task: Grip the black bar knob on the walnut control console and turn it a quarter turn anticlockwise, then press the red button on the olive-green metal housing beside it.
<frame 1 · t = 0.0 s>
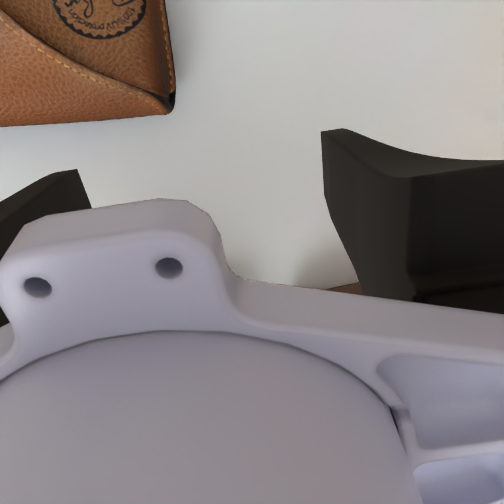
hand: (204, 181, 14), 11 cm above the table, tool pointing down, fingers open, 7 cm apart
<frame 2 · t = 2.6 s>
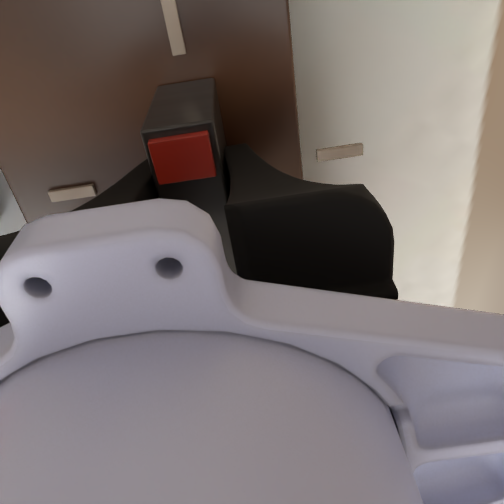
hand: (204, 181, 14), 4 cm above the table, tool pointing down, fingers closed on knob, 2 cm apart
console: (165, 142, 17), on the table
knob: (203, 201, 13), point 5 cm above the table, hinge at 0.0°, touching gripper
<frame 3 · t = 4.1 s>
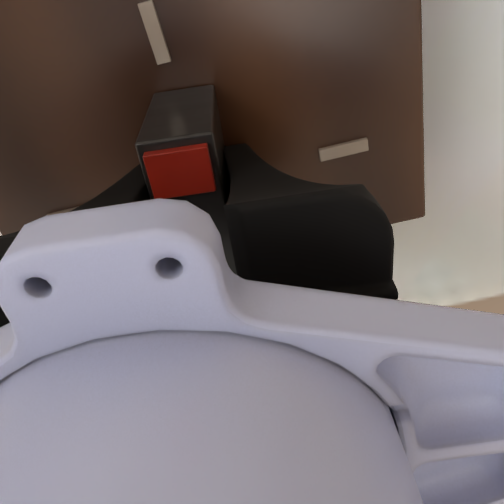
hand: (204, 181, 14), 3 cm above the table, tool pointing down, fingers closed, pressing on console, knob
console: (192, 101, 15), on the table
knob: (201, 214, 12), point 5 cm above the table, hinge at 84.5°, touching gripper
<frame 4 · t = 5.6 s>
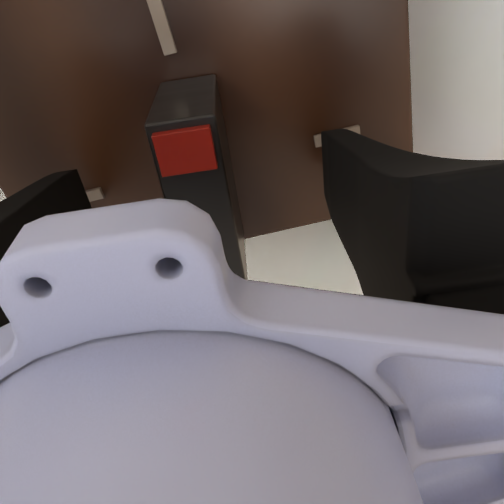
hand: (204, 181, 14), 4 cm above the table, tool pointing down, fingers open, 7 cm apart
console: (196, 92, 16), on the table
knob: (204, 194, 13), point 5 cm above the table, hinge at 84.8°
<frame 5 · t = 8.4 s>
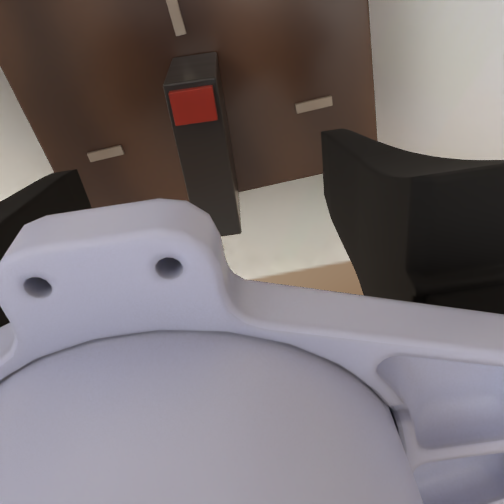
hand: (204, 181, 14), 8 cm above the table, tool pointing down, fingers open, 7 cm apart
console: (199, 70, 20), on the table
knob: (207, 147, 17), point 5 cm above the table, hinge at 84.8°
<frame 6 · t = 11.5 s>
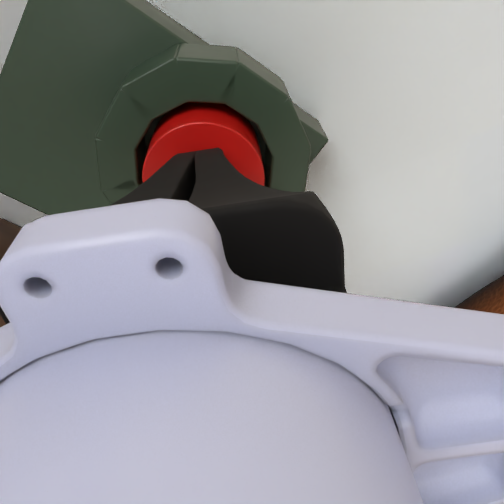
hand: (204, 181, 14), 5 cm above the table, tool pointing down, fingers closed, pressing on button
button box: (152, 136, 18), on the table
button: (204, 167, 15), point 4 cm above the table, slide at -0.7 cm, touching gripper
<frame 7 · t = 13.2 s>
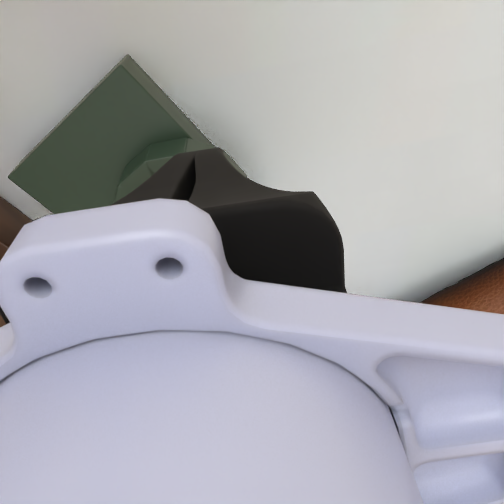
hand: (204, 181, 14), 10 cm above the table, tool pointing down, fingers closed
sunglasses case: (406, 335, 33), on the table
button box: (147, 180, 25), on the table
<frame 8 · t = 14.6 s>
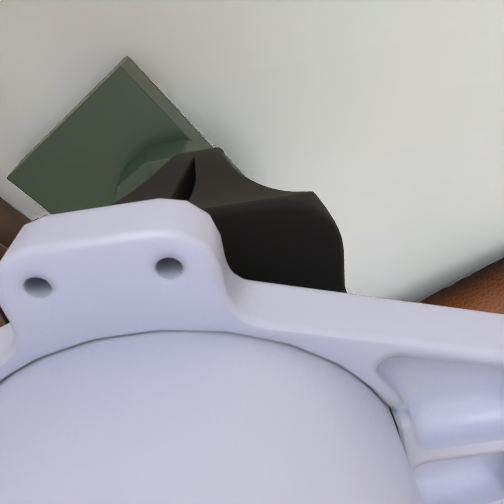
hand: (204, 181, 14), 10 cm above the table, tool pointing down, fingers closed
sunglasses case: (403, 336, 33), on the table
button box: (146, 182, 25), on the table
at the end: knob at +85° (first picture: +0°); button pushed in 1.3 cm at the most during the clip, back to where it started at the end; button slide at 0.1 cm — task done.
